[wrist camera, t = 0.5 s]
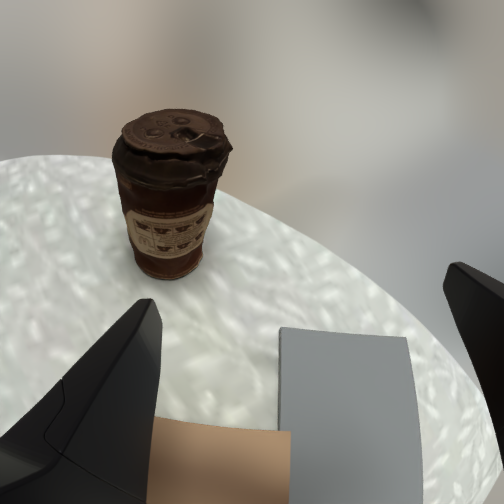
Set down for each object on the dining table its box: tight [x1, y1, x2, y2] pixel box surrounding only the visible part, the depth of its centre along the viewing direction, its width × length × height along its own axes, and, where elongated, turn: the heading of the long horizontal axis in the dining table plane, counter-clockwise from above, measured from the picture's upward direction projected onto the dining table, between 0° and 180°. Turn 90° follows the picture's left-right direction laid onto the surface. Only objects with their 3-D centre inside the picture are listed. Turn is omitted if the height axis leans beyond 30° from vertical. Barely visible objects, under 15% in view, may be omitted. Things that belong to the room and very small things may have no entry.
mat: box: [278, 327, 423, 504], centre depth 19 cm, size 18×13×1 cm
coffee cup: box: [112, 109, 233, 279], centre depth 22 cm, size 9×8×13 cm
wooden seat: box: [146, 416, 291, 504], centre depth 12 cm, size 7×10×7 cm
